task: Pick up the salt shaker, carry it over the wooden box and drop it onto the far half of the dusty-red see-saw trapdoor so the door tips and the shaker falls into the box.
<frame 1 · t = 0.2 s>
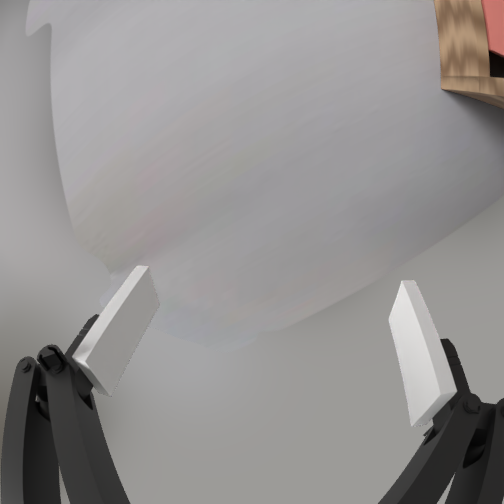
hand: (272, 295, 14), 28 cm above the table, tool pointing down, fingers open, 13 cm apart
wooden box: (488, 40, 20), on the table
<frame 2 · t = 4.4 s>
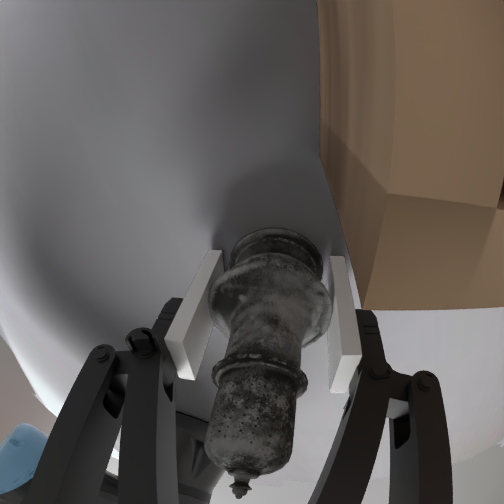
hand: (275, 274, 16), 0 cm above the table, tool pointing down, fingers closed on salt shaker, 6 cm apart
salt shaker: (276, 268, 16), on the table, touching gripper
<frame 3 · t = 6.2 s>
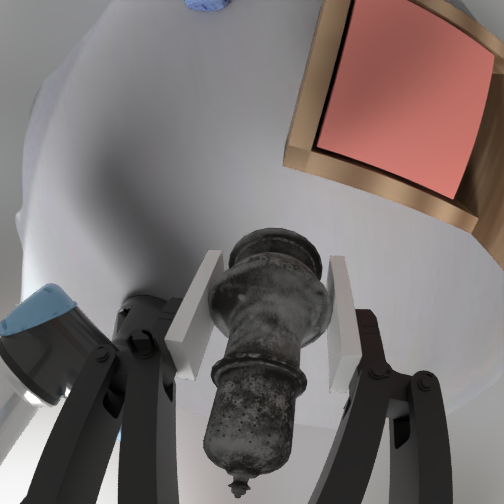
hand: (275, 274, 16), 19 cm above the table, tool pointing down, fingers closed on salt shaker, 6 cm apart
trapdoor: (418, 89, 17), point 10 cm above the table, hinge at 0.0°
wooden box: (399, 96, 25), on the table
salt shaker: (275, 267, 16), point 19 cm above the table, touching gripper
when the fingers open (13 cm above the table, at t = 8.2 s): salt shaker drops 6 cm, resting on wooden box, trapdoor.
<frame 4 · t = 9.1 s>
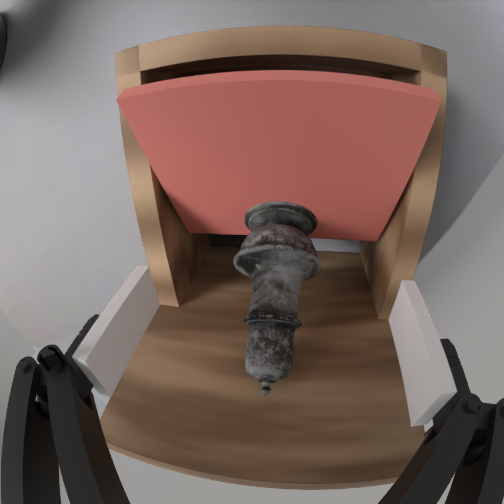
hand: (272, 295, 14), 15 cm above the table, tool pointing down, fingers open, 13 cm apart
trapdoor: (280, 174, 17), point 9 cm above the table, hinge at 32.4°, touching salt shaker
wooden box: (285, 166, 26), on the table
salt shaker: (280, 219, 21), point 7 cm above the table, touching wooden box, trapdoor
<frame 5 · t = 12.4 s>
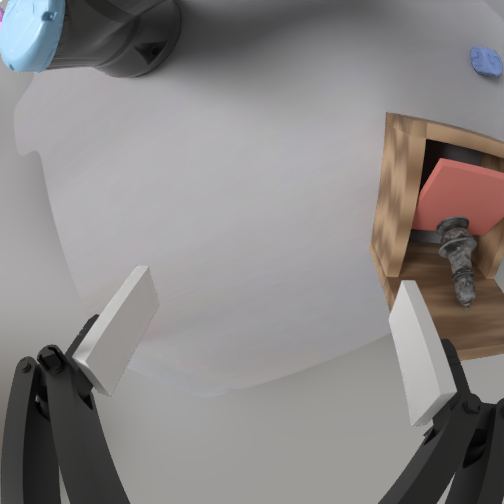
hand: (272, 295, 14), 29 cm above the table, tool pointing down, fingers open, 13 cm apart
trapdoor: (468, 204, 27), point 9 cm above the table, hinge at 35.6°, touching salt shaker
wooden box: (436, 192, 36), on the table
salt shaker: (452, 224, 32), point 7 cm above the table, touching wooden box, trapdoor
decorative dice: (479, 62, 24), on the table
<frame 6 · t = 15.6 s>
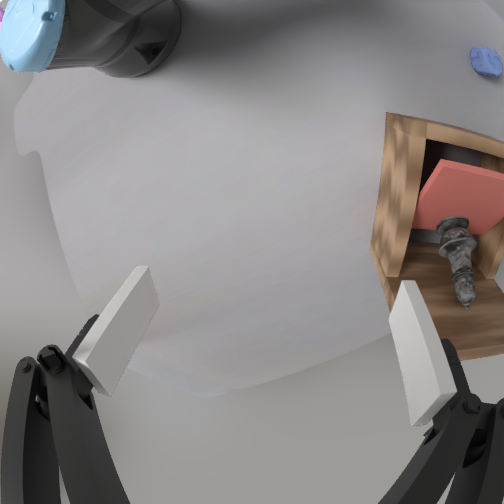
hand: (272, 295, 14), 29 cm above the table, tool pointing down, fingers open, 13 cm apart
trapdoor: (468, 204, 27), point 9 cm above the table, hinge at 36.8°, touching salt shaker
wooden box: (436, 192, 36), on the table
salt shaker: (452, 224, 32), point 7 cm above the table, touching wooden box, trapdoor
decorative dice: (479, 62, 24), on the table
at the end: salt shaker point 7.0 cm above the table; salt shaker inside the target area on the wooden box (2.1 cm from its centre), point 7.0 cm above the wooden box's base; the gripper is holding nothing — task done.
